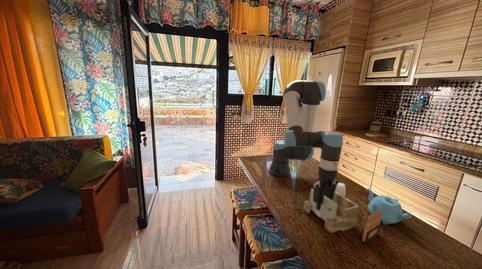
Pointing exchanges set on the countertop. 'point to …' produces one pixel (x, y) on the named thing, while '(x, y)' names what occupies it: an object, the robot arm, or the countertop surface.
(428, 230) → the countertop surface
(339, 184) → the mug
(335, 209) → the door
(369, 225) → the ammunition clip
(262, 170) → the countertop surface
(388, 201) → the teapot
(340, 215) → the carcass
